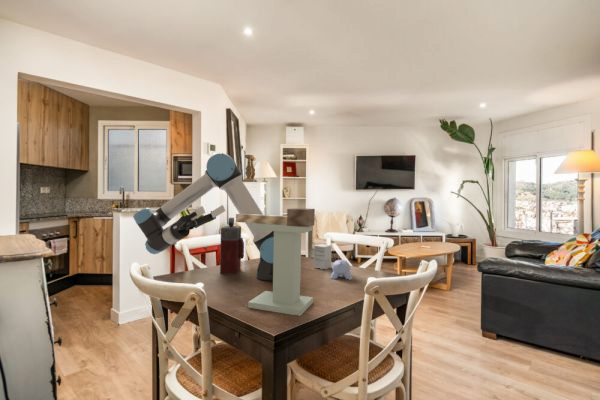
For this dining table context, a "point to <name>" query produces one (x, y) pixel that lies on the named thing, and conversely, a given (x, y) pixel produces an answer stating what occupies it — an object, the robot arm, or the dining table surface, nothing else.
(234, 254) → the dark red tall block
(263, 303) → the stand
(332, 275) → the hippopotamus toy
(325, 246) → the supplement box
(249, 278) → the dining table surface
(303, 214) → the mallet
